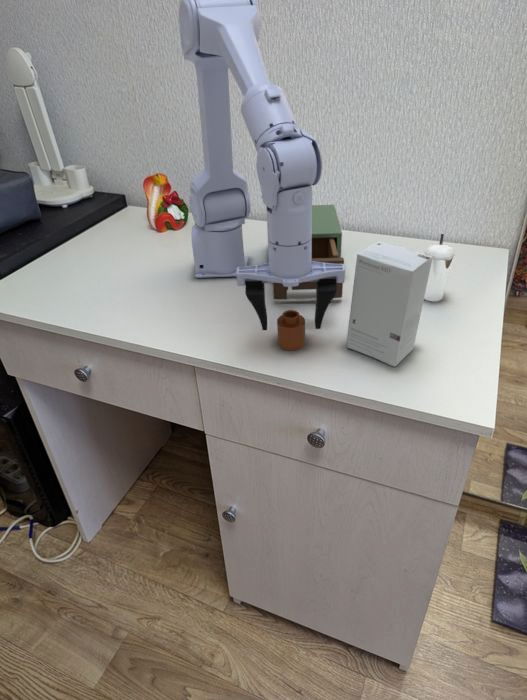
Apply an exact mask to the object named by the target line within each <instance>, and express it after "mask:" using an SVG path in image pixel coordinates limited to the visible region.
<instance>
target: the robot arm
mask: <svg viewBox="0 0 527 700" xmlns="http://www.w3.org/2000/svg"><path fill="white" fill-rule="evenodd" d="M178 24H179V34H180V43H181V51H182V53H183V55H182V56H183V59H184V60H186V61H189V62H190V63H191V62H192V63H193V64H194V69H195V74H196V82H197V95H198V107H199V117H200V119H199V120H200V129H201V131H200V132H201V142H202V152H203V153H202V154H203V163H204V165H203V166H204V168H203V170H201V172H199V173H198V174H197V175H196V176H195V177H194V178H193V179H192V180H191V181H190V185H189V188H190V194H189V195H190V196H189V206H190V212H191V215H192V219H193V221H194V223H195V224H193V225H192V226H191V248H192V255H193V262H194V270H195V278H199V279H200V278H201V279H202V278H233V277H236V286H237V287H245V289H244V292H245V297H246V298H247V300H248V301H249V303H250V304H251V305H252V307H253V309H254V310H255V312H256V315H257V317H258V320H259V322H260V325H261V330H262V331H268V311H267V306H266V290H265V289H266V287H265V284H273V283H282V284H283V286H285V287H295V286H298V285H299V283H302V282H313V281H316V299H315V310H314V325H315V330H320V329H322V323H323V320H324V316H325V314H326V311H327V309H328V308H329V305H330V304H331V302H332V301H333V299H335V298H334V296H335V294H336V291H337V286H336V282H337V283H343V284H344V283H345V280H346V279H345V277H346V269H345V263H344V264H331V263H322V262H314V261H312V205H313V187H312V186H316V185H318V184H319V182H320V180H321V177H322V172H323V159H322V153H321V149H320V146H319V144H318V141H317V139H316V138H315V137H314V135H311V134H309V133H308V131H307V130H306V129H304V128H300V127H299V125H298V122H297V120H296V117H295V115H294V113H293V111H292V108H291V106H290V103H289V101H288V99H287V96H286V94H285V92H284V90H283V88H282V87H281V86H279V85H277V84H274V83H271V81H270V78H269V75H268V71H267V69H266V65H265V62H264V59H263V56H262V52H261V50H260V46H259V44H258V43H259V39H260V30H261V13H260V8H259V3H258V1H257V0H180V3H179V8H178ZM229 72H230V73H231V74H232V76H233V78H234V80H235V83H236V84H237V87H238V88H239V90H240V92H241V94H242V96H243V98H242V101H241V104H240V114H241V115H242V118H243V120H244V123H245V126H246V128H247V131H248V133H249V135H250V138H251V141H252V143H253V145H254V148H255V150H256V153H257V155H256V162H255V167H256V173H257V178H258V182H259V186H260V190H261V199H262V204H263V205H265V206H266V207H265V208H266V228H267V229H266V231H267V253H268V262H265V263H264V262H263V263H259V264H253V265H248V263H249V257H248V256H245V249H244V235H243V225H245V224H246V221H245V220H246V219H248V217H249V215H250V213H251V209H252V206H251V204H252V203H251V197H250V194H249V186H248V182H247V180H246V178H245V176H244V175H242V173H240V172H238V171H237V170H235V169H234V161H233V160H234V157H233V140H232V139H233V138H232V121H231V117H232V116H231V101H230V99H231V97H230V79H229Z"/></svg>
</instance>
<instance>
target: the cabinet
mask: <svg viewBox="0 0 527 700" xmlns="http://www.w3.org/2000/svg"><path fill="white" fill-rule="evenodd" d="M329 237H334V240H335V245H336V249H337V253H338V258H342V243H343V242H342V241H343V239H342V238H343V232H342V228H341V224H340V220H339V217H338V213H337V209H336V206H335V204H315V205H313V204H312V238H329Z"/></svg>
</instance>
